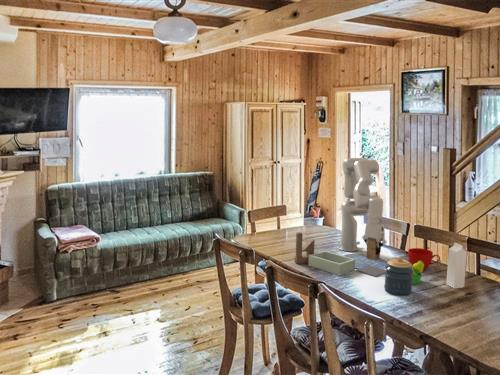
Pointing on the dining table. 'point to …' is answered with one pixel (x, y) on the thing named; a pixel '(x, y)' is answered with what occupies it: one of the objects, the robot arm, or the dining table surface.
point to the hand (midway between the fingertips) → (373, 252)
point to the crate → (331, 262)
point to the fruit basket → (417, 272)
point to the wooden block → (303, 249)
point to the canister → (398, 277)
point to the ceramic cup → (421, 256)
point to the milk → (456, 266)
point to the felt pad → (371, 271)
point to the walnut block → (372, 249)
